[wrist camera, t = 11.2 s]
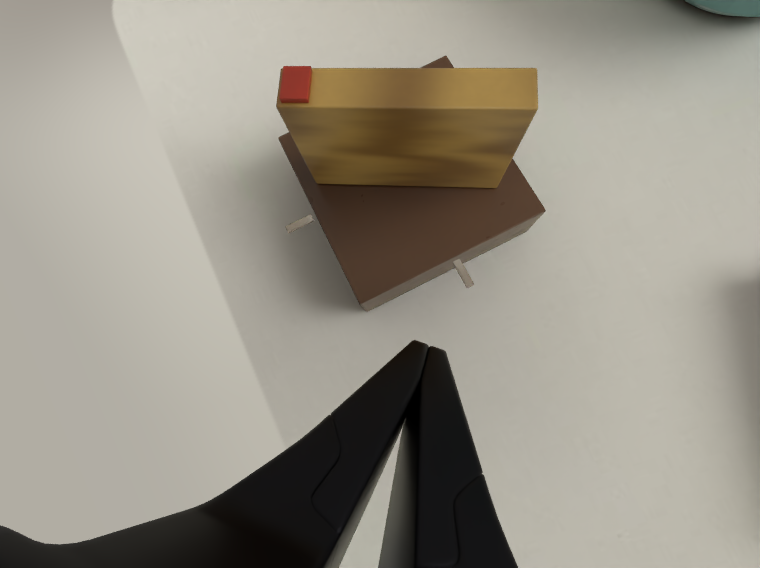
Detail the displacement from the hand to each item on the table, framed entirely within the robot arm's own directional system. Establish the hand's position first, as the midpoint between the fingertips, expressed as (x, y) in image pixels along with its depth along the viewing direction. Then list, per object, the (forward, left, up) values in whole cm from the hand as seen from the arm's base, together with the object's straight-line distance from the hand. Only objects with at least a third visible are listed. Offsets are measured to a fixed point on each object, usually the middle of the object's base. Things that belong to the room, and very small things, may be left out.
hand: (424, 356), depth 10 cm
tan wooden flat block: (+8, +3, -8) cm, 12 cm away
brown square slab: (+8, +3, -11) cm, 14 cm away
